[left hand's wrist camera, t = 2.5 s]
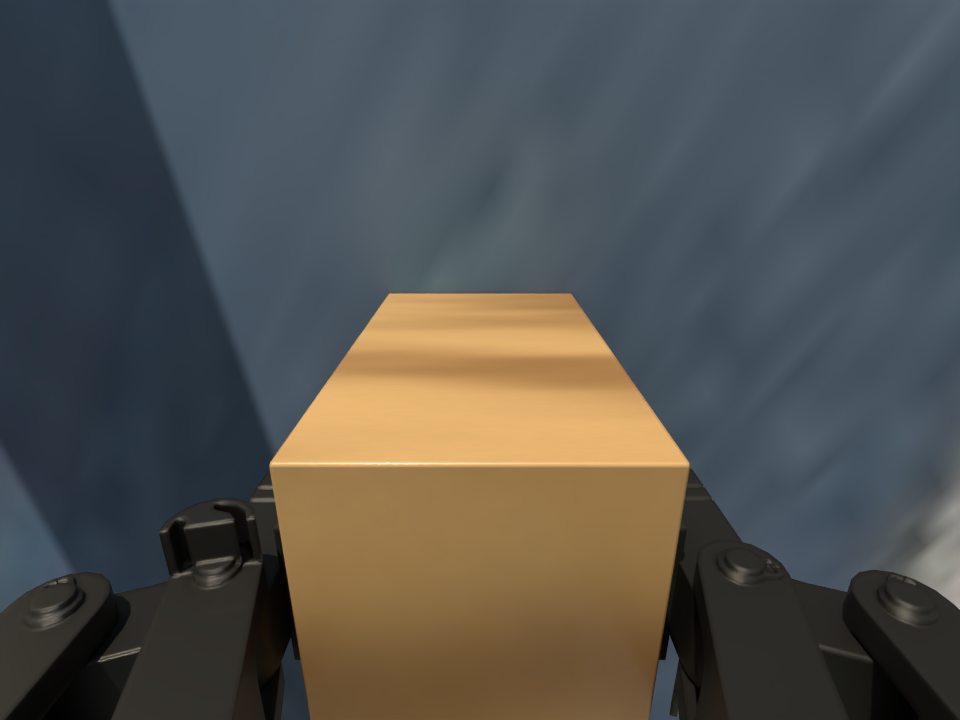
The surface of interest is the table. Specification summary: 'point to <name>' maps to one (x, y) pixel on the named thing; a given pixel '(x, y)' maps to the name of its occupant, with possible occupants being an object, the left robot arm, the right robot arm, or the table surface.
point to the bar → (479, 519)
